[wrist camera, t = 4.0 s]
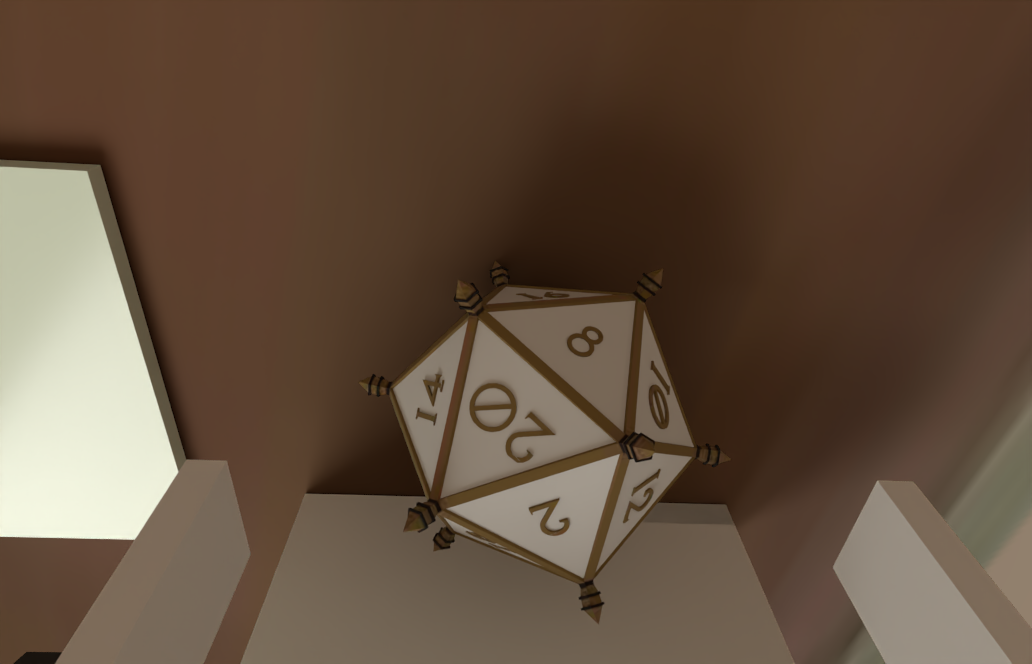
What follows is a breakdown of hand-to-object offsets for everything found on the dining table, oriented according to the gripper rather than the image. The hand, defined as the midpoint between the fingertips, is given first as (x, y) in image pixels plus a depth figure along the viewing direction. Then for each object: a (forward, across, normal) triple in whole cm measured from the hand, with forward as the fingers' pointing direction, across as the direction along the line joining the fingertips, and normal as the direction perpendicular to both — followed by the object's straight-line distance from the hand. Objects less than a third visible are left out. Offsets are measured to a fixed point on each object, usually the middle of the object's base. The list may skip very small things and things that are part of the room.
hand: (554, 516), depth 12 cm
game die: (+8, 0, 0) cm, 8 cm away
